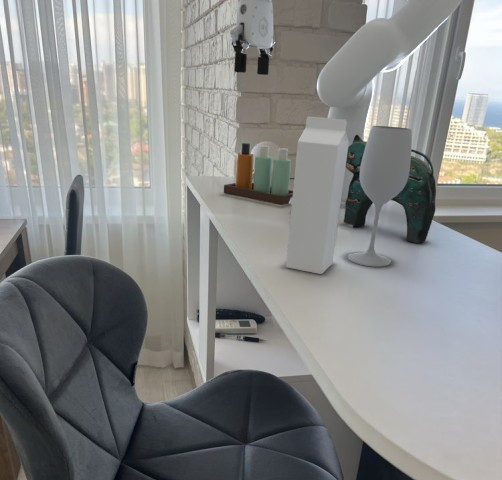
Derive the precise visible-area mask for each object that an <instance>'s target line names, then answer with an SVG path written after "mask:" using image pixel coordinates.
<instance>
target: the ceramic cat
mask: <svg viewBox="0 0 502 480" xmlns="http://www.w3.org/2000/svg"><path fill="white" fill-rule="evenodd" d="M366 143H367V141H365V140H364V141H363V140H362V139H361V138H360V137H359V136H358V135H356V136H355V138H354V140H353V143H352V144H351V145H350V146H349V147H348V152H347V160H346V168H347V169H348V170H349V171H350V172H352V173H353V174H354V175H353V178H352V180H351V182H350V185H349V190H348V197H347V200H346V203H345V205H344V206H345V207H344V216H343V223H344V224H346V225H347V224H348V225H352V228H360V227H364V226H365V224H366V219H367V215H368V211H369V210H370V209H371V206H372V205H374V203H373V202H372V201H371V200H370V198H369V197H368V196H367V195H366V193H365V192H364V190H363V188H362V187H361V183H360V179H359V178H360V167H361V162H362V158H363V154H364V150H365V147H366ZM411 153H415V154H417V155H419V156H421V157H422V158H424V159H425V160H426V162H427V163H428V164H427V163H426V162H425V161H424V160H423V159H421V158H418V157H417V156H414V155H411V162H410V171H409V176H408V180H407V183H406V185H405V186H404V188H403V190H402V191H401V192H400V193H399V194H398V195H397V196H395V197H394V198H393V199H391V200H390V201H392V202H395V203H397V204H399V205H400V206H401V207H403V210H404V213H405V220H406V221H405V222H406V241H407V242H409V243H413V244H421V243H423V242H426V240H427V237H428V234H429V232H430V229H431V226H432V222H433V220H434V216H435V213H436V197H437V186H436V185H437V184H436V179H435V178H436V177H435V175H434V174H435V173H434V166H433V163H432V161H431V159H430V158H429V156H428V155H426V154H425V153H423V152H421V151H419V150H416V149H412V148H411Z"/></svg>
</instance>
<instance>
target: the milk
mask: <svg viewBox="0 0 502 480" xmlns="http://www.w3.org/2000/svg"><path fill="white" fill-rule="evenodd" d="M346 125H347V121H346V120H345V119H334V118H328V117H320V116H309V115H308V116H307V117H306V121H305V128H304V129H303V132H302V133H301V134H300V137H299V138H298V140H297V146H296V147H297V148H296V157H295V169H294V178H293V179H294V180H293V190H292V191H293V199H292V205H291V210H290V221H289V230H288V239H287V240H288V243H287V250H286V252H287V253H286V261H285V267H286V268H287V269H293V270H298V271H304V272H308V273H313V274H317V275H323V273H325V271H327V270H328V269H329V268H330V267H331V266H332V265H333V260H334V253H335V245H336V238H337V231H338V225H339V216H340V210H341V205H340V203H341V196H342V188H343V181H344V174H345V167H346V160H347V152H348V145H349V141H348V138H347V134H346Z"/></svg>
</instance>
